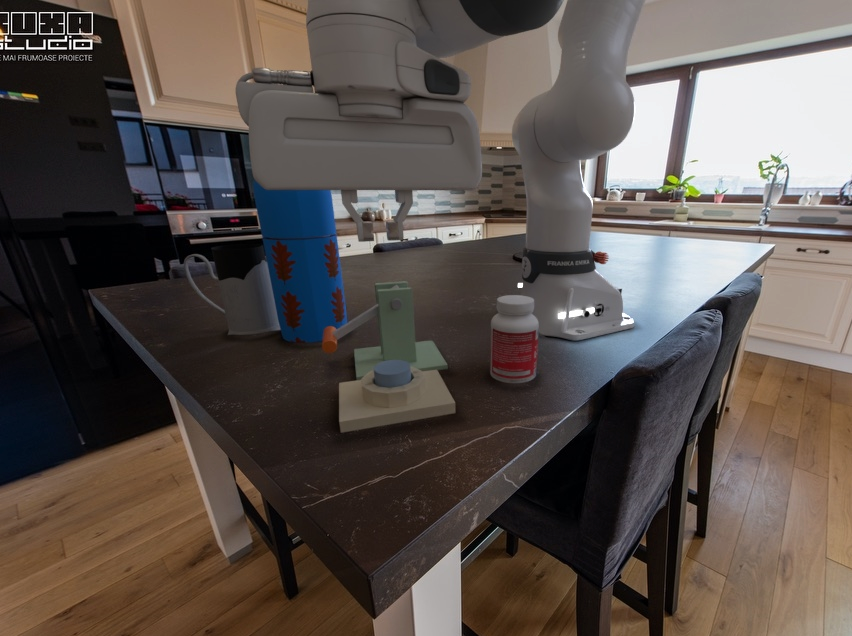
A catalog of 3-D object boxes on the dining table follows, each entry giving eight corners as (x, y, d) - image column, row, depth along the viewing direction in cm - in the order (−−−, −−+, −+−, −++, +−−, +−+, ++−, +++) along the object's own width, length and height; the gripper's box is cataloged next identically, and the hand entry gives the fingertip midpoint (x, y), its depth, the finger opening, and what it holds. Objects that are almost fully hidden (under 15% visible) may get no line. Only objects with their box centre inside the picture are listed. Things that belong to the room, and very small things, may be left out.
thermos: (326, 350, 63) (301, 180, 54) (267, 345, 65) (233, 180, 56) (359, 328, 73) (342, 182, 64) (307, 324, 75) (283, 182, 66)
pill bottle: (542, 386, 51) (547, 304, 47) (496, 391, 50) (498, 307, 46) (526, 367, 57) (530, 292, 53) (485, 371, 55) (485, 294, 51)
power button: (408, 371, 47) (407, 357, 46) (413, 386, 43) (413, 371, 43) (373, 376, 46) (372, 362, 45) (376, 391, 42) (375, 376, 42)
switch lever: (329, 357, 50) (317, 343, 49) (330, 341, 56) (319, 328, 55) (410, 306, 52) (400, 291, 50) (404, 295, 57) (394, 281, 56)
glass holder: (267, 340, 67) (248, 250, 61) (184, 340, 67) (158, 250, 62) (291, 324, 75) (276, 243, 70) (217, 323, 75) (197, 243, 70)
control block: (437, 384, 52) (436, 356, 50) (455, 419, 44) (454, 387, 42) (341, 398, 48) (337, 369, 47) (341, 440, 40) (336, 405, 39)
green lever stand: (357, 387, 51) (346, 298, 47) (354, 358, 60) (345, 281, 56) (447, 374, 54) (445, 290, 50) (432, 348, 63) (429, 275, 59)
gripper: (219, 52, 28) (258, 249, 33) (488, 77, 34) (487, 240, 39) (239, 75, 34) (269, 240, 39) (467, 93, 40) (468, 234, 45)
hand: (380, 240), depth 39 cm, fingers closed
